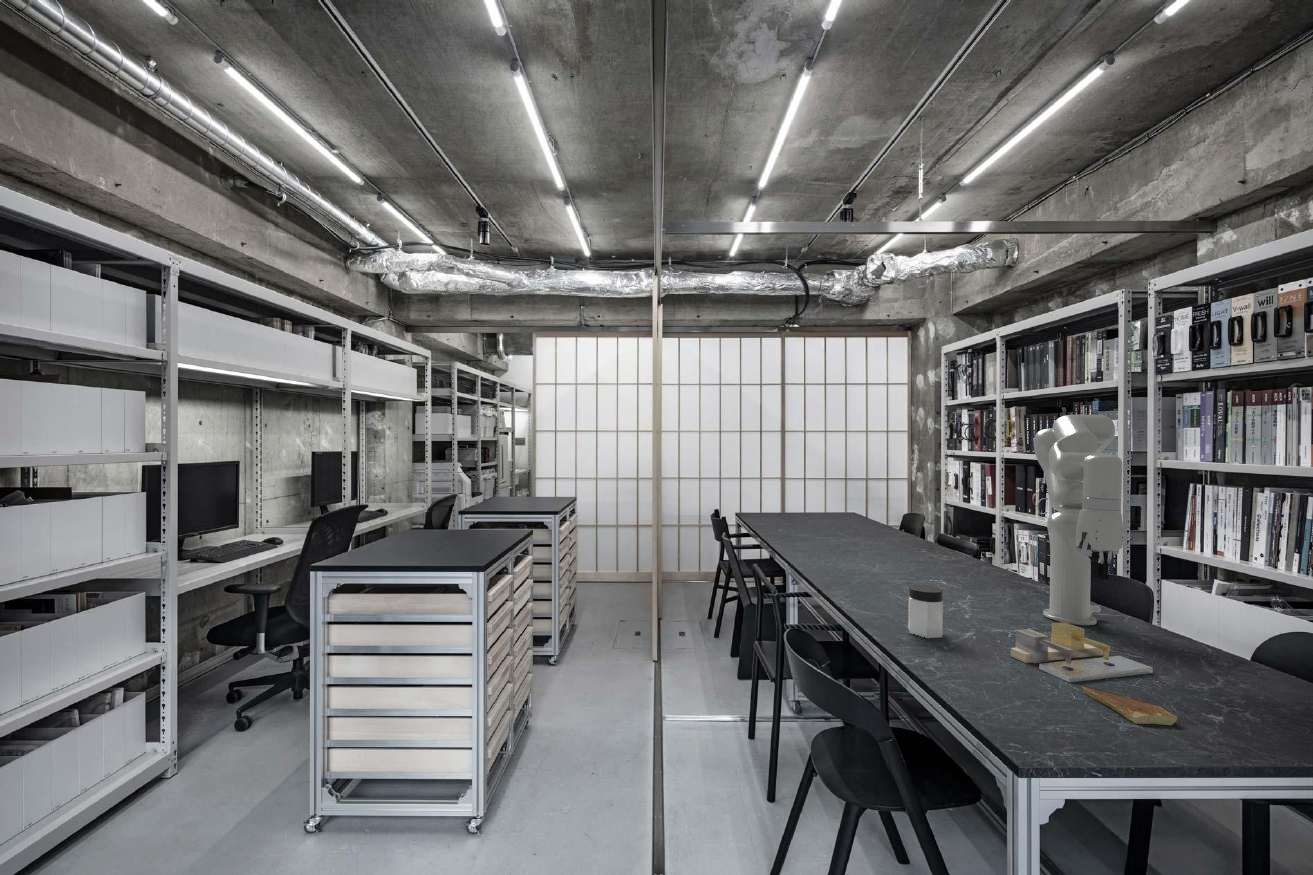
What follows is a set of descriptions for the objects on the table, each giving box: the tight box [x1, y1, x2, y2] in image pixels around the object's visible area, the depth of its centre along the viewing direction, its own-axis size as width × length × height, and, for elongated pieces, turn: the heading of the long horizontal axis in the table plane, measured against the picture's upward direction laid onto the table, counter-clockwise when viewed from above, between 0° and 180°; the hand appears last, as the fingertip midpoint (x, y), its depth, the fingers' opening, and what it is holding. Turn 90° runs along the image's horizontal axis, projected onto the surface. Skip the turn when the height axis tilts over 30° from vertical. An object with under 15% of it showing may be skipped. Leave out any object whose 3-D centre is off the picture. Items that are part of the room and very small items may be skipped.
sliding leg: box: [1050, 622, 1111, 660], centre depth 131 cm, size 4×12×5 cm, turn 14°
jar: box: [907, 584, 944, 639], centre depth 148 cm, size 9×8×12 cm
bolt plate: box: [1038, 655, 1154, 683], centre depth 125 cm, size 24×7×1 cm, turn 104°
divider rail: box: [1010, 628, 1103, 664], centre depth 130 cm, size 24×12×6 cm, turn 104°
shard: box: [1080, 684, 1178, 726], centre depth 107 cm, size 13×9×2 cm
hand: (1099, 577), depth 137 cm, fingers closed
